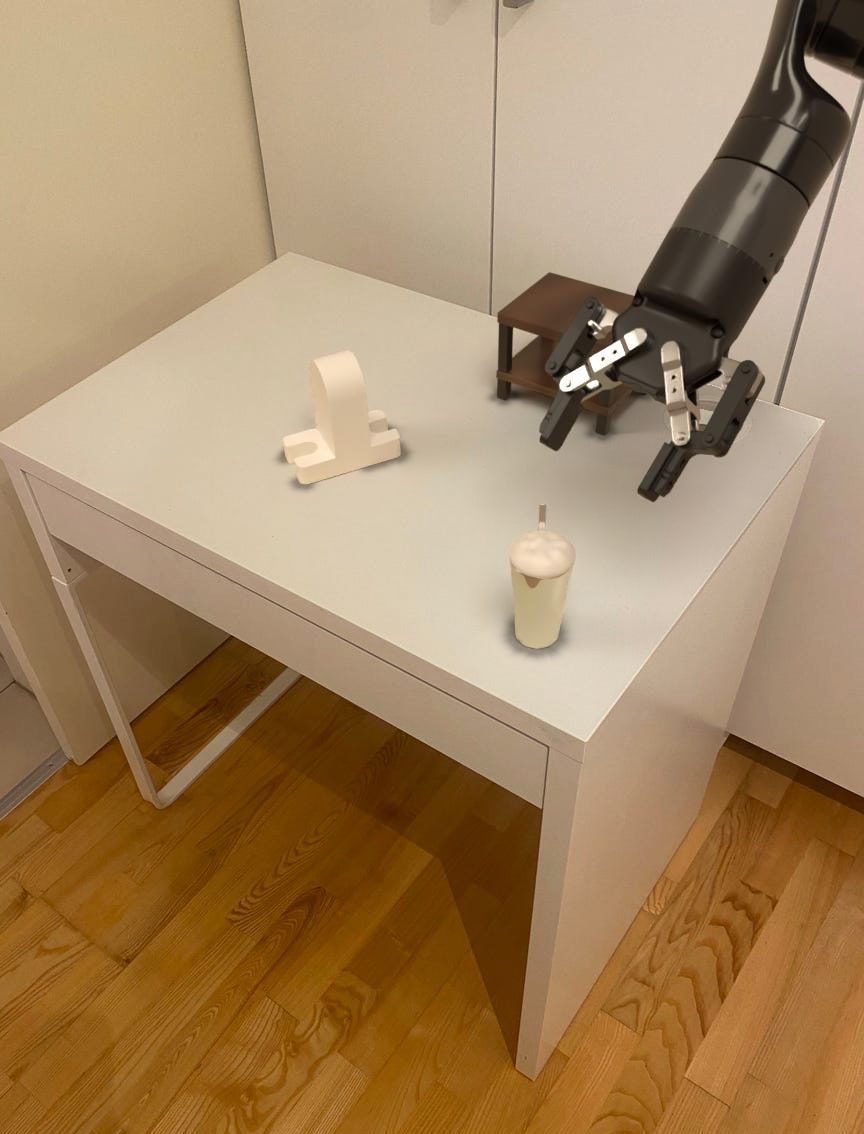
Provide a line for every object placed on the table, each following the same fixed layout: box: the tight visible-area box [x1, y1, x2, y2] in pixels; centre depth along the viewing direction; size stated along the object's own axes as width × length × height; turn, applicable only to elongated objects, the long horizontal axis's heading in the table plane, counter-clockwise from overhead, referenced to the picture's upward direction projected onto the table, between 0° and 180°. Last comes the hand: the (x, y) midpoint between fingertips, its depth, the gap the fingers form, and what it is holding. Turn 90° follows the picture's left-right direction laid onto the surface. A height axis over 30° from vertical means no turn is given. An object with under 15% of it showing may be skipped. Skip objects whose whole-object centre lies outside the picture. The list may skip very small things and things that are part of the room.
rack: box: [495, 271, 647, 436], centre depth 93 cm, size 12×9×9 cm
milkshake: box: [508, 503, 576, 650], centre depth 71 cm, size 4×5×10 cm
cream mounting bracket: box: [282, 349, 402, 485], centre depth 88 cm, size 5×10×10 cm, turn 112°
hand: (595, 471), depth 69 cm, fingers open, 8 cm apart
